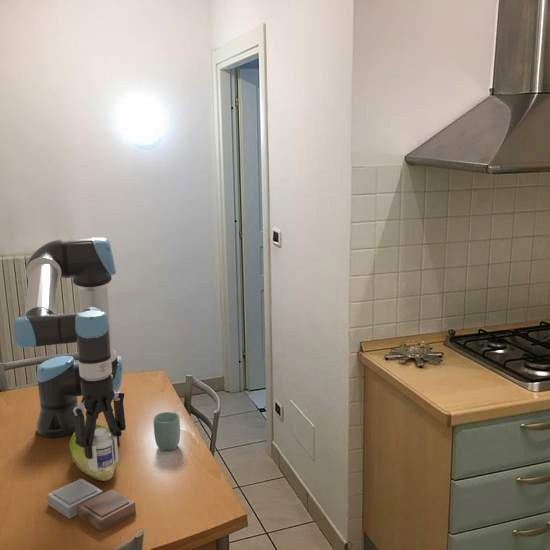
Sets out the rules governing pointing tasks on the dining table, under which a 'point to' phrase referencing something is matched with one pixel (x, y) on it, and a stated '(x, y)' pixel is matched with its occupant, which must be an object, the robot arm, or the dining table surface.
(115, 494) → the stand
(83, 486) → the stand
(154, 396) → the dining table surface
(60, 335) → the robot arm
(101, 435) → the pill bottle
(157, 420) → the cup
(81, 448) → the lettuce
